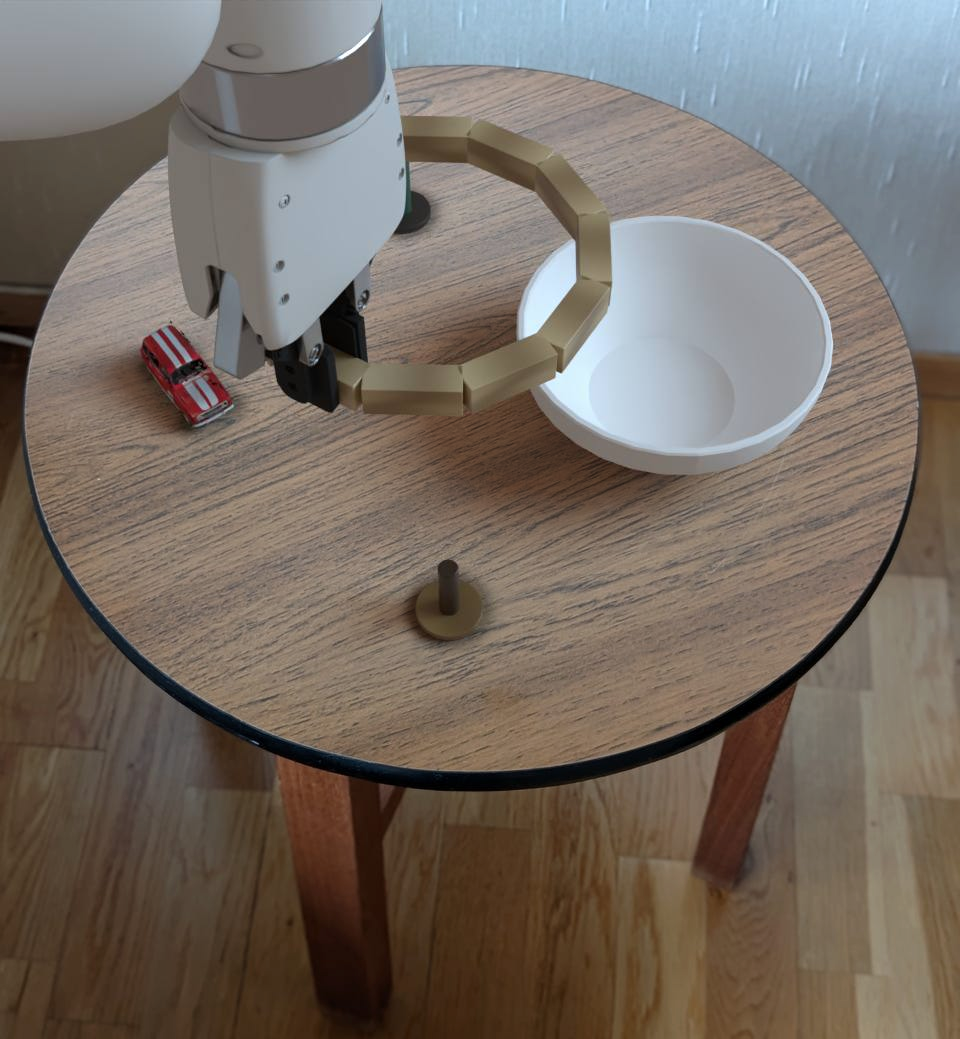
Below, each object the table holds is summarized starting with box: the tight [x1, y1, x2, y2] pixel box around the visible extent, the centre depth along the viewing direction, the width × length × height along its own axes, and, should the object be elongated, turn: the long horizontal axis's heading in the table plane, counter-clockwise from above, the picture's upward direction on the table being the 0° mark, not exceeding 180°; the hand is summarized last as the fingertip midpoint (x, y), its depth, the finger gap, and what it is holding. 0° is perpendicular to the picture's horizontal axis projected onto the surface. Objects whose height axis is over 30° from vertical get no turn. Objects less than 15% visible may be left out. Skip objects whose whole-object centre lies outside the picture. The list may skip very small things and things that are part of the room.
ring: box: [266, 114, 613, 417], centre depth 66 cm, size 19×19×2 cm
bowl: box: [516, 215, 834, 476], centre depth 85 cm, size 20×20×7 cm
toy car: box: [139, 320, 235, 429], centre depth 88 cm, size 4×8×3 cm, turn 36°
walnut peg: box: [415, 558, 484, 641], centre depth 78 cm, size 4×4×5 cm
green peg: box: [394, 162, 432, 234], centre depth 96 cm, size 4×4×5 cm
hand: (323, 378), depth 63 cm, fingers closed on ring, 1 cm apart
